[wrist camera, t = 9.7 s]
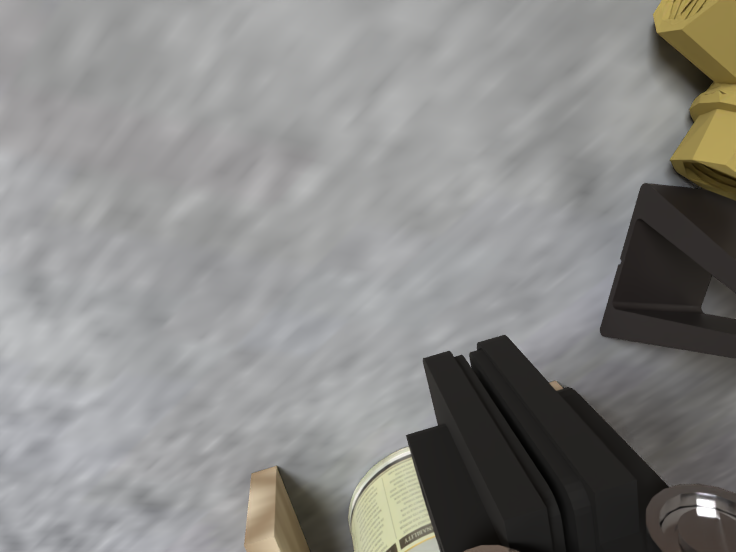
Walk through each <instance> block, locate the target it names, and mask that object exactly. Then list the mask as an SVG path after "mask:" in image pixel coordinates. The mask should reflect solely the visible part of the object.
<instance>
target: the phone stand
mask: <svg viewBox="0 0 736 552" xmlns="http://www.w3.org/2000/svg"><path fill="white" fill-rule="evenodd" d="M620 259H621V261H622V262H621V264H620V265H618V268H617V271H616V275H615V278H614V282H613V285H612V289H611V292H610V296H609V299H608V303H607V306H606V310H605V313H604V317H603V320H602V324H601V327H600V333H601V335H602V336H605V337H611V338H617V339H622V340H628V341H634V342H640V343H646V344H652V345H658V346H664V347H670V348H676V349H682V350H688V351H694V352H700V353H706V354H712V355H718V356H724V357H730V358H736V319H731V318H726V317H720V316H715V315H709V314H705V313H703V312H702V310H701V305H702V303H703V300H704V297H705V294H706V291H707V288H708V286H709V283H710V280H711V277H712V275H713V276H714V277H716V278H717V279H718V280H719V281H721V282H722V283H723V284H725V285H726V286H727V287H728V288H730V289H731V290H732V291H733V292H735V293H736V201H735V200H733V199H730V198H727V197H725V196H722V195H720V194H717V193H714V192H712V191H709V190H706V189H697V188H687V187H678V186H668V185H658V184H649V183H645V184H643V185H642V186H641V188H640V191H639V194H638V198H637V201H636V205H635V208H634V212H633V215H632V219H631V222H630V226H629V229H628V233H627V236H626V240H625V243H624V247H623V250H622V254H621V257H620Z"/></svg>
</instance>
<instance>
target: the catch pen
mask: <svg viewBox="0 0 736 552" xmlns="http://www.w3.org/2000/svg"><path fill="white" fill-rule="evenodd" d="M550 384H551V386H552V387H553V388H554V389H555V390H556V391H557V390H560V389H563V388H562V387H561V386H560V385H559V384H558V383H557V382H556V381H553V382H550ZM244 546H245V549H246V551H247V552H310V550H309V547H308V545H307V542H306V540H305V537H304V535H303V532H302V529H301V527H300V524H299V522H298V519H297V517H296V514H295V512H294V509H293V507H292V504H291V502H290V499H289V496H288V494H287V491H286V489H285V486H284V484H283V481H282V479H281V476H280V474H279V471H278V469H277V466H275V467H271V468H268V469H265V470H262V471H258V472H255V473H252V474H251V484H250V494H249V504H248V513H247V523H246V533H245V543H244Z"/></svg>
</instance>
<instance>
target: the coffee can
mask: <svg viewBox="0 0 736 552" xmlns="http://www.w3.org/2000/svg"><path fill="white" fill-rule="evenodd" d="M348 522H349V527H350V532H351V535H352V539H353V546H354V552H440V550H439V546H438V543H437V540H436V537H435V534H434V531H433V527H432V524H431V521H430V518H429V515H428V511H427V508H426V505H425V502H424V498H423V495H422V492H421V488H420V485H419V481H418V478H417V474H416V471H415V467H414V463H413V460H412V456H411V452H410V449H409V447H406V448H403V449H400V450H398V451H396V452H394V453H392V454H390V455H389V456H387V457H386V458H384V459H382V460H381V461H380V462H378V463H377V464H376V465H374V466H373V467H372V468H371V469H370V470H369V471H368V472H367V474H366V475H365V476H364V477H363V478H362V480H361V481H360V482H359V484H358V486H357V487H356V489H355V491H354V493H353V496H352V499H351V502H350V506H349V515H348Z"/></svg>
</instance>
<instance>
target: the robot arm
mask: <svg viewBox="0 0 736 552" xmlns="http://www.w3.org/2000/svg"><path fill="white" fill-rule="evenodd" d="M469 357H470V363H471V367H470V365H469V364H468V362H467V361H466V359H465V358H464V356H463V355H460V356H456V357H454V356H453V354H452V353H451V352H450V351H447V352H443V353H440V354H437V355H433V356H430V357H426V358H423V364H424V369H425V373H426V377H427V381H428V385H429V389H430V394H431V398H432V402H433V406H434V410H435V415H436V419H437V423H438V426H435V427H432V428H428V429H425V430H422V431H418V432H415V433H412V434H408V435H406V437H407V441H408V445H409V449H410V452H411V456H412V460H413V463H414V467H415V471H416V474H417V478H418V481H419V485H420V488H421V492H422V495H423V498H424V502H425V505H426V508H427V511H428V515H429V518H430V521H431V524H432V527H433V531H434V534H435V537H436V540H437V543H438V546H439V550H440V552H736V493H733V492H730V491H728V490H725V489H722V488H719V487H714V486H708V485H702V484H679V485H676V486H672V487H669V486H668V485H667V484H666V483H665V482H664V481H663V480H662V479H661V478H660V477H659V476H658V475H657V474H656V473H655V472H654V471H653V470H652V469H651V468H650V467H649V466H648V465H647V464H646V463H645V462H644V461H643V460H642V459H641V458H640V457H639V456H638V454H637V453H636V452H635V451H634V450H633V449H632V448H631V447H630V446H629V445H628V444H627V443H626V442H625V441H624V440H623V439H622V438H621V437H620V436H619V435H618V434H617V433H616V432H615V431H614V430H613V429H612V428H611V427H610V426H609V425H608V424H607V423H606V422H605V421H604V419H603V418H602V417H601V416H600V415H599V414H598V413H597V412H596V411H595V410H594V409H593V408H592V407H591V406H590V405H589V404H588V403H587V402H586V401H585V400H584V399H583V398H582V397H581V396H580V395H579V394H578V393H577V392H576V391H575V390H573V389H572V388H569V387H567V388H563V389H560V390H557V391H556V390H555V389H554V388H553V387H552V386H551V384H550V383H549V382H548V381H547V380H546V379H545V378H544V377H543V376H542V374H541V373H540V372H539V371H538V370H537V369H536V368H535V367H534V366H533V364H532V363H531V362H530V361H529V360H528V359H527V358H526V357H525V356H524V355H523V353H522V352H521V351H520V350H519V349H518V348H517V347H516V346H515V345H514V343H513V342H512V341H511V340H510V339H509V338H508V337H507V336H506V335H502V336H499V337H495V338H492V339H488V340H485V341H481V342H478V343H477V351H473V352H470V354H469Z"/></svg>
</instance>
